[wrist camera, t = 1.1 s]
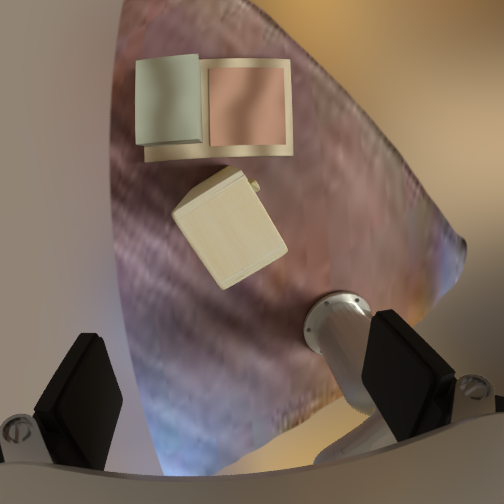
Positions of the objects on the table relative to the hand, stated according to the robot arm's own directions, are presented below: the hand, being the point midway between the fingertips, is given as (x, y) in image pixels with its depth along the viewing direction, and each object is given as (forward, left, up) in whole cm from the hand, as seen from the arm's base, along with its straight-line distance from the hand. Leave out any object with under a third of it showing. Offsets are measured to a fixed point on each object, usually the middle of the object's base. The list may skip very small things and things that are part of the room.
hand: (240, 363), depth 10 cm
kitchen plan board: (+1, -14, -37) cm, 39 cm away
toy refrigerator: (0, -1, -37) cm, 37 cm away
